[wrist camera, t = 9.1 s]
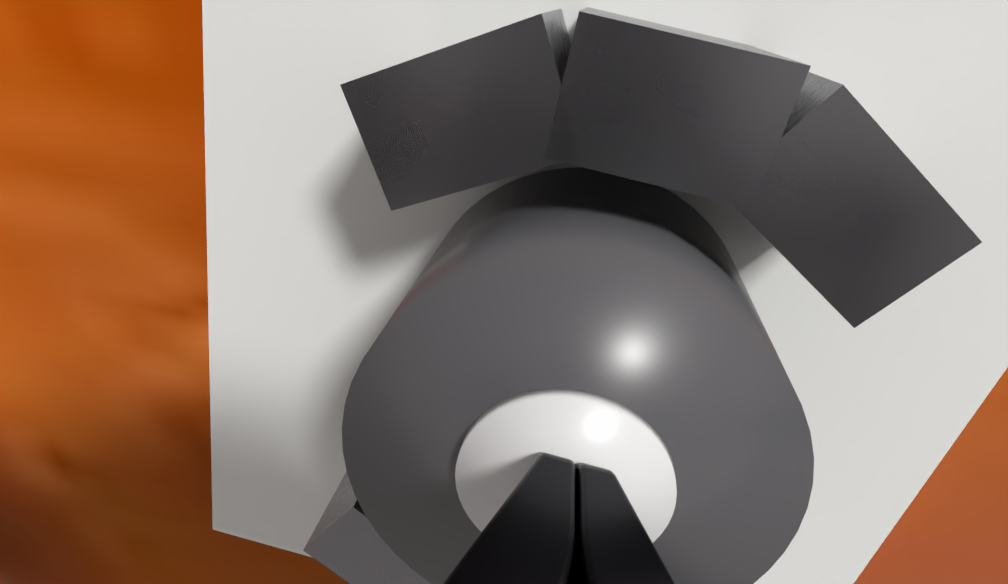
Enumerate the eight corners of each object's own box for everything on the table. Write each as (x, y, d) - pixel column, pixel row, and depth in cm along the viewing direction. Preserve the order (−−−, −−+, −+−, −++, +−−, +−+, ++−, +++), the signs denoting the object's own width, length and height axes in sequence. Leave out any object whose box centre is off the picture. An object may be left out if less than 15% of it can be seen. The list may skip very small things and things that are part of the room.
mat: (774, 671, 15) (779, 688, 14) (221, 517, 15) (212, 529, 15) (1310, -103, 7) (1345, -108, 7) (214, -339, 8) (194, -356, 8)
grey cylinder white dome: (689, 472, 12) (726, 687, 8) (413, 411, 12) (330, 591, 9) (792, 203, 9) (912, 337, 6) (442, 137, 10) (342, 224, 6)
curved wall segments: (675, 565, 13) (692, 710, 10) (360, 478, 13) (299, 598, 11) (914, 84, 8) (1055, 123, 6) (427, -31, 9) (350, -44, 6)
